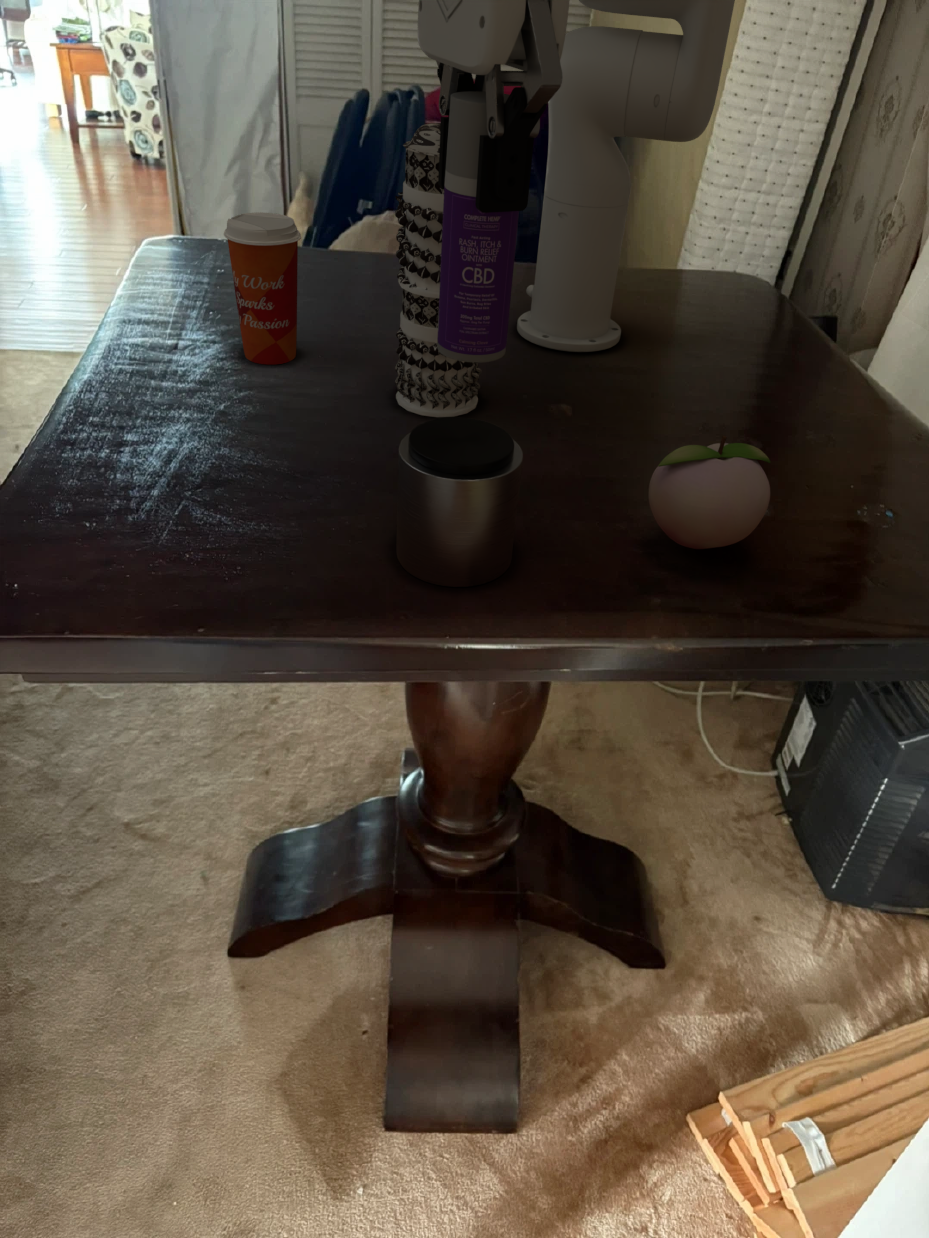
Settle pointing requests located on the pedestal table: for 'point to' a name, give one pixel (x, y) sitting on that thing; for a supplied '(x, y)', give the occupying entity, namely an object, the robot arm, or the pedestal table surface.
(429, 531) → the lidded metal canister
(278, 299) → the paper cup
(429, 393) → the decorative candle
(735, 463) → the decorative fruit
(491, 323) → the container
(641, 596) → the pedestal table surface
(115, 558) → the pedestal table surface
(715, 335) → the pedestal table surface
